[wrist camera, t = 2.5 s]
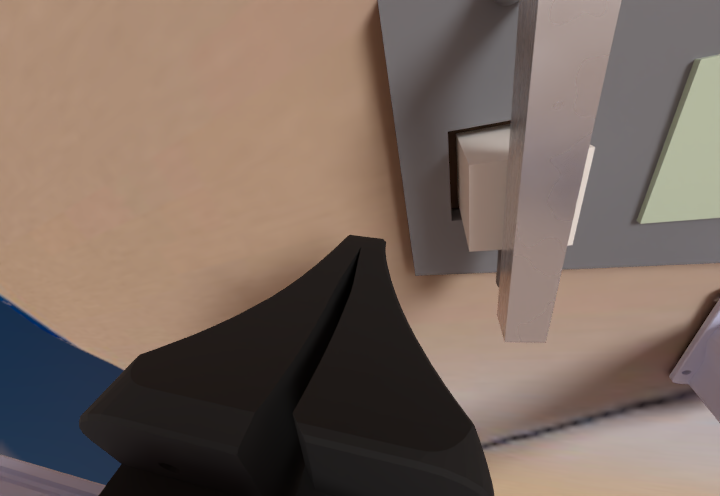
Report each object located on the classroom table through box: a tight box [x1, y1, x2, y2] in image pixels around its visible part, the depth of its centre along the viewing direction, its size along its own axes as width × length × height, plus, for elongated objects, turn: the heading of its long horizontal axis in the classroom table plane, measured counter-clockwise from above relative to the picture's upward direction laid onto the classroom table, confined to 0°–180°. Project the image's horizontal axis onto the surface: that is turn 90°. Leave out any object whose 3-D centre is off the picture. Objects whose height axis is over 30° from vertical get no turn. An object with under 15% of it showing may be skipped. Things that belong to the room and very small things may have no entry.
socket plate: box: [378, 0, 720, 276], centre depth 11 cm, size 15×20×6 cm
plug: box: [456, 124, 595, 287], centre depth 14 cm, size 8×4×6 cm, turn 13°
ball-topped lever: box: [497, 0, 622, 343], centre depth 9 cm, size 14×2×2 cm, turn 13°
